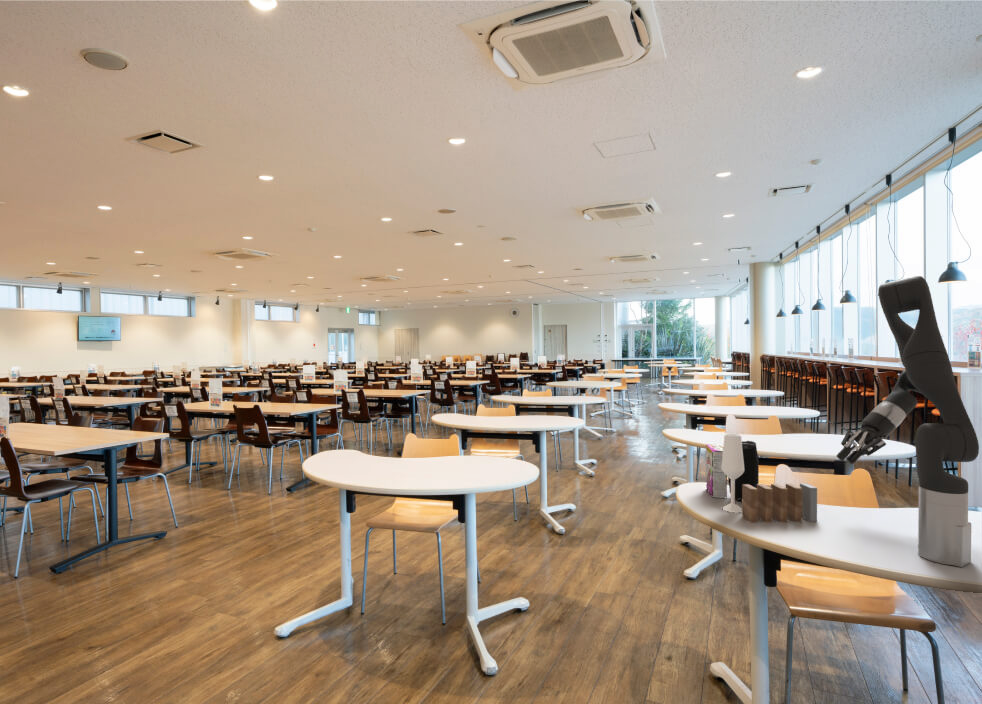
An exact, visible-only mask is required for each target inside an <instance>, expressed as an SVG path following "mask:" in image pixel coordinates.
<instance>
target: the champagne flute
mask: <svg viewBox="0 0 982 704" xmlns="http://www.w3.org/2000/svg"><path fill="white" fill-rule="evenodd" d="M723 439H724V440H723V446H722V448H723V456H722V466H721V469H722V471H723V472H724V474H725V475H726V476H727V479H728V478H730V479H731V493H730V503H728V504H726V505H723V506H724V507H723V506H722V507H723V509H724V510H726V511H725V512H727V511H729V512H728V513H732V512H735V513H736V514H739V513H738V512H741V513H742V507H740V506H739V505H738V504H736V502H735V479H737V478H738V477H740V476H741V475H742V474H743V472H744V460H743V450H742V435H741V434H739V433H725V434H724V438H723ZM724 510H723V511H724Z"/></svg>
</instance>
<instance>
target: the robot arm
mask: <svg viewBox="0 0 982 704" xmlns="http://www.w3.org/2000/svg"><path fill="white" fill-rule="evenodd" d="M877 292H878V299H879V303H880V306H881V309H882V312H883V314H884V317H885V320H886V322H887V324H888V327H889V329H890V331H891V333H892V335H893V338H894V340H895V342H896V345H897V348H898V353H899V355H900V356H899V357H900V360H901V364H902V366H903V367H904V369H903V371H901V373H900V374H899V376H898V379H897V380H896V384H895V385H894V386H893V389H892V391H891V393H889V394H888V395H887V396H886V397H885V398H884V399H883V400H882V402H880V403H879V404H877V406H875V407H874V408H873V409H872V410H871V411H870V412H869V413H868V414H867V415H866V417H864V418H863V420H862V421H861V422H860V423H861V424H860V425H861V427H860V428H859V429H857V430H856V431H852V430H850V429H849V430H847V432H846V434H845V435H844V437H843V439H842V441H841V442H840V444H841V445H842V447H843V448H841V450H840V451H839V452H838V453H837V454H836V457H837V458H838V460H839V461H842V462H844V461H845V459H846V461H847V462H848V464H851V465H853V464H854V463H856V462H857V461H858V460H859V459H860V458H861V457H864V456H865V455H866V456H868V457H869V456H871V455H873V454H874V453H876V452H877V451H878V450H880V449H882V448H884V447H885V446H886V445H887V443H886V441H884V439H887V438H888V437H889V436H890V435H891V434H892V433H893V432H894V431H895V430H896V429H897V428H898V427H899V426H900V425H901V424H902V423H903V421H904V420H905V419H906V417H908V415H909V414H910V413H911V412H912V411H913V410H914V409H915V408H916V407H917V406H918V400H917V398H916V396H914V394H912V393H910V392H911V391H913V392H916V393H919V394H922V395H923V396H924V397H925V398H926V399H928V401H929V402H930V403H932V404H933V406H934V407H935V408H936V409H937V412H938V413H939V414H940V417H941V418H942V421H943V423H936V422H935V423H933V422H931V423H929V422H928V423H923V424H920V425H919V426H918V428H917V430H916V431H915V432H916V433H915V439H914V440H915V441H914V442H915V456H916V461H915V462H916V472H917V478H918V518H917V519H918V521H917V522H918V523H917V525H918V533H917V534H918V535H917V536H918V537H917V539H918V540H917V541H918V542H917V543H918V544H917V549H918V550H917V551H918V553H917V554H918V556H920V557H922V558H924V559H926V560H929V561H931V562H935V563H938V564H942V565H943V564H944V565H948V566H949V565H950V566H956V567H958V568H959V567H960V568H963V567H964V566H966V565H967V564H969V563H971V562H972V522H969V482H968V480H967V479H965V478H963V477H961V476H958V475H956V474H952V473H950V472H948V471H946V470H945V469H944V462H947V463H948V462H949V463H951V462H952V463H971V462H974V461H975V460H977V458H978V456H979V452H980V445H979V440H978V436H977V434H976V429H975V428H974V425H973V423H972V421H971V419H970V417H969V414H968V412H967V410H966V408H965V405H964V403H963V401H962V397H961V394H960V392H959V389H958V385H957V383H956V382H957V381H956V379H955V375H954V373H953V372H954V371H953V369H952V364H951V361H950V357H949V354H948V352H947V349H946V346H945V343H944V340H943V337H942V334H941V332H940V331H941V330H940V329H939V324H938V320H937V316H936V312H935V307H934V303H933V299H932V294H931V290H930V287H929V284H928V282H927V281H926V279H925V278H924V277H923V276H921V275H916V276H910V277H905V278H902V279H897V280H892V281H887V282H885V283H882V284H881V285H879V287H878V291H877ZM917 310H918V311H919V313H918V318H917V322H916V325H915V328H913V327H912V326H911V325H909V324H907V323H906V322H905V320H903V319H902V318H901V317H900V315H899V314H901V313H907V312H912V311H917Z"/></svg>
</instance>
